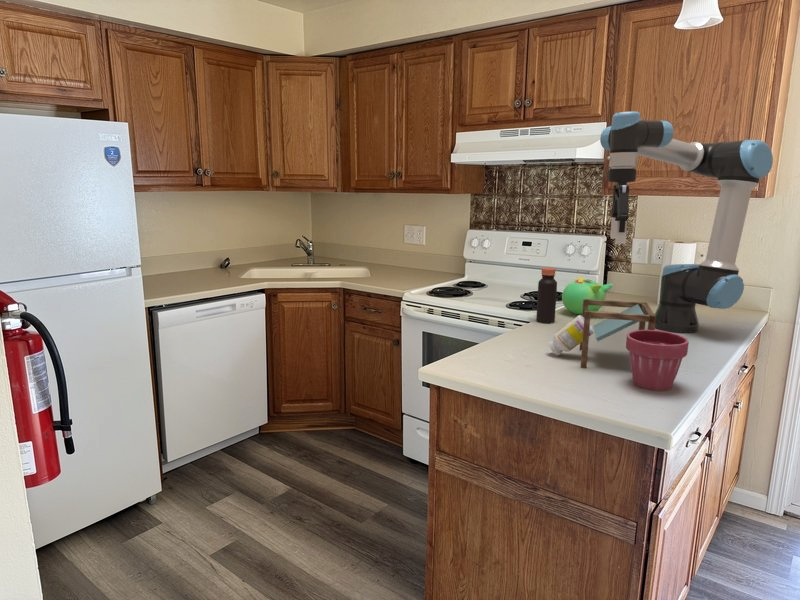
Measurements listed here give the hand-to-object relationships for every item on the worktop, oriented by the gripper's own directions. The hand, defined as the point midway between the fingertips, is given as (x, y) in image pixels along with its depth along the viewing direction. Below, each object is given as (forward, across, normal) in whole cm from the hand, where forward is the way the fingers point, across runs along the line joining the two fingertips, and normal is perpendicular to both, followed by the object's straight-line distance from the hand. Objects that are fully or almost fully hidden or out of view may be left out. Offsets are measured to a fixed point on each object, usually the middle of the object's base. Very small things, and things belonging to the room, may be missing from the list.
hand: (617, 241), depth 164 cm
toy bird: (+35, -48, -5) cm, 60 cm away
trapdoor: (+22, +12, +1) cm, 25 cm away
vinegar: (+34, -32, -20) cm, 51 cm away
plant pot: (+34, +30, +7) cm, 46 cm away
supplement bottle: (+23, +12, -8) cm, 27 cm away
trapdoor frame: (+34, +12, -1) cm, 36 cm away
